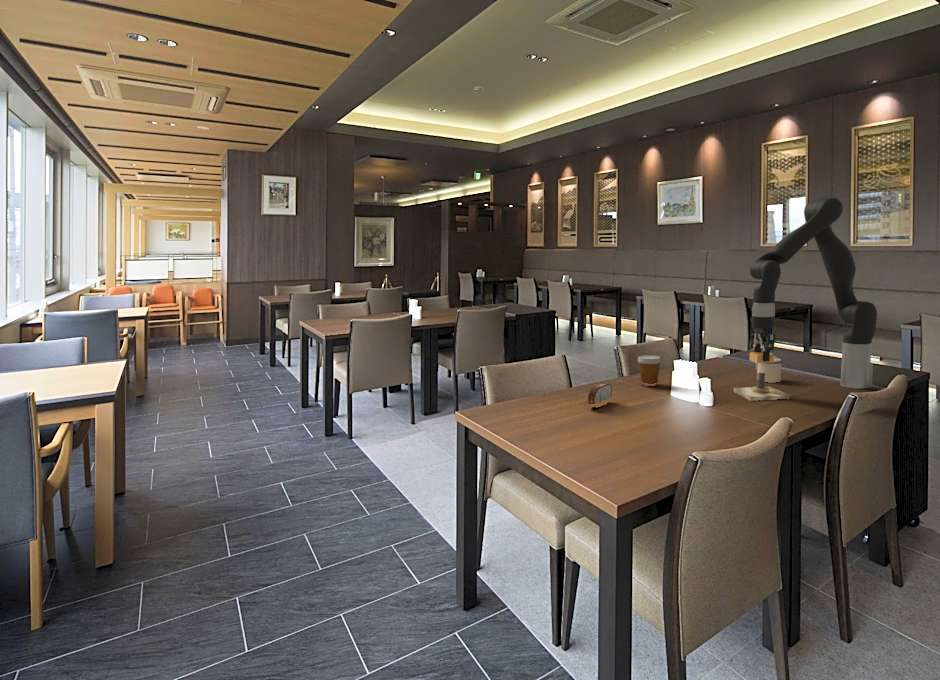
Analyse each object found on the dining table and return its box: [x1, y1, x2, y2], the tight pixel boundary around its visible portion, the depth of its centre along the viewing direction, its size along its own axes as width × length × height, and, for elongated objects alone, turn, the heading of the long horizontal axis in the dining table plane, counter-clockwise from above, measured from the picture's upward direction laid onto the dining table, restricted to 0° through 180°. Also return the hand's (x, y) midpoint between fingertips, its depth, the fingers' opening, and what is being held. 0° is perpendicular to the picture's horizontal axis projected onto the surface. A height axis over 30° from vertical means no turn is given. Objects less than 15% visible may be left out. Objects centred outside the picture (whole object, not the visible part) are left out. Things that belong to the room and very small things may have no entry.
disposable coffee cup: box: [637, 354, 662, 384], centre depth 235 cm, size 10×10×12 cm
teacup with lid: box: [755, 352, 783, 384], centre depth 234 cm, size 12×9×12 cm
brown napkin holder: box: [587, 381, 613, 404], centre depth 207 cm, size 15×3×8 cm, turn 141°
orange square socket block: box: [749, 351, 775, 364], centre depth 210 cm, size 6×6×3 cm
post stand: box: [733, 373, 791, 402], centre depth 211 cm, size 14×14×8 cm
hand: (761, 359), depth 210 cm, fingers closed on orange square socket block, 6 cm apart
